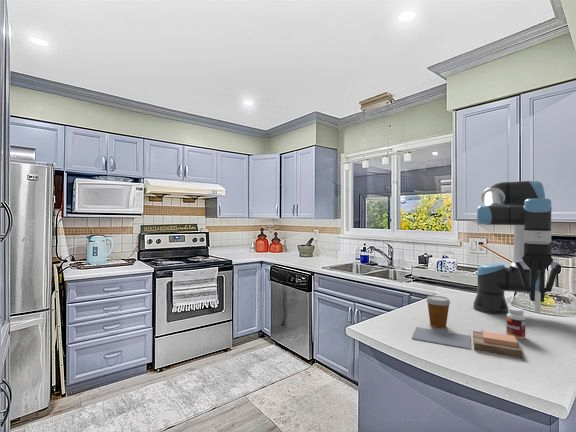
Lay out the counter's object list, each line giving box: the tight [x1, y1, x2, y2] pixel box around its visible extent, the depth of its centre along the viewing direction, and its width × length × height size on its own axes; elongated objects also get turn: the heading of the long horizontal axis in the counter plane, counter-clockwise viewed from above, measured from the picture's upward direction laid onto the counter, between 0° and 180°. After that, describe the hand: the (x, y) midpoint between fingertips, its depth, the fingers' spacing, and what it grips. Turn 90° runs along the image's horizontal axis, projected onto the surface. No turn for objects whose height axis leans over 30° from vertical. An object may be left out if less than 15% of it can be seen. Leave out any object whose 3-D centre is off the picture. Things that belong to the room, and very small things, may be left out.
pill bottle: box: [505, 307, 527, 340], centre depth 128 cm, size 6×6×11 cm
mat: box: [411, 326, 472, 350], centre depth 126 cm, size 14×20×1 cm
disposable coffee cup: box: [426, 295, 451, 329], centre depth 140 cm, size 10×10×12 cm
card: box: [481, 330, 517, 347], centre depth 117 cm, size 7×10×2 cm
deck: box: [472, 330, 523, 359], centre depth 118 cm, size 14×14×2 cm
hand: (536, 310), depth 112 cm, fingers closed
